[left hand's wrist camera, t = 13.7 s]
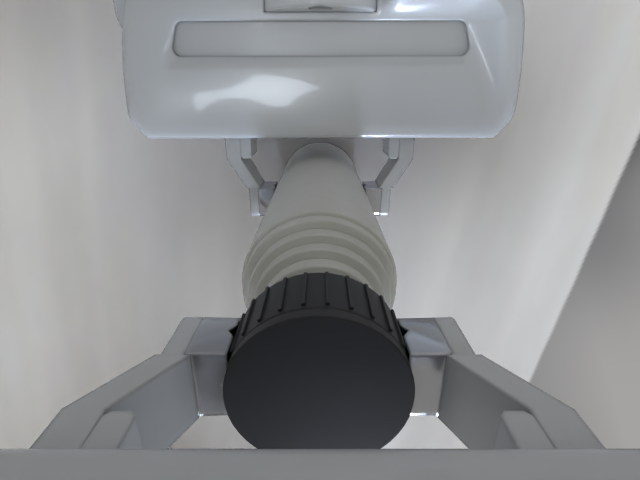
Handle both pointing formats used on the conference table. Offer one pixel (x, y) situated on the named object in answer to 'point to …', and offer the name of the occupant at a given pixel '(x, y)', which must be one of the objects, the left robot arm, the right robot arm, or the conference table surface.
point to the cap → (318, 367)
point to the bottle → (319, 227)
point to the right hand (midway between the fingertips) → (320, 213)
